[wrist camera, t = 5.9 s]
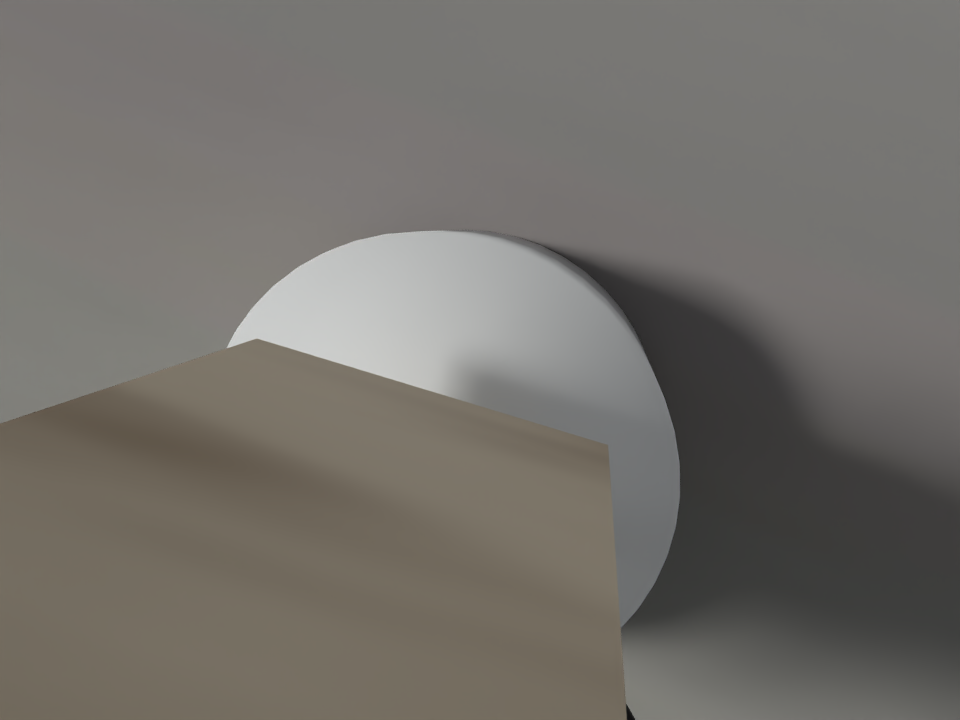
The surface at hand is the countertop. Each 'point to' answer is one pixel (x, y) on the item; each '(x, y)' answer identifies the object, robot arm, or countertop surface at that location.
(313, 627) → the birch block
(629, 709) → the robot arm
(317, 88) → the countertop surface
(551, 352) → the ceramic puck
